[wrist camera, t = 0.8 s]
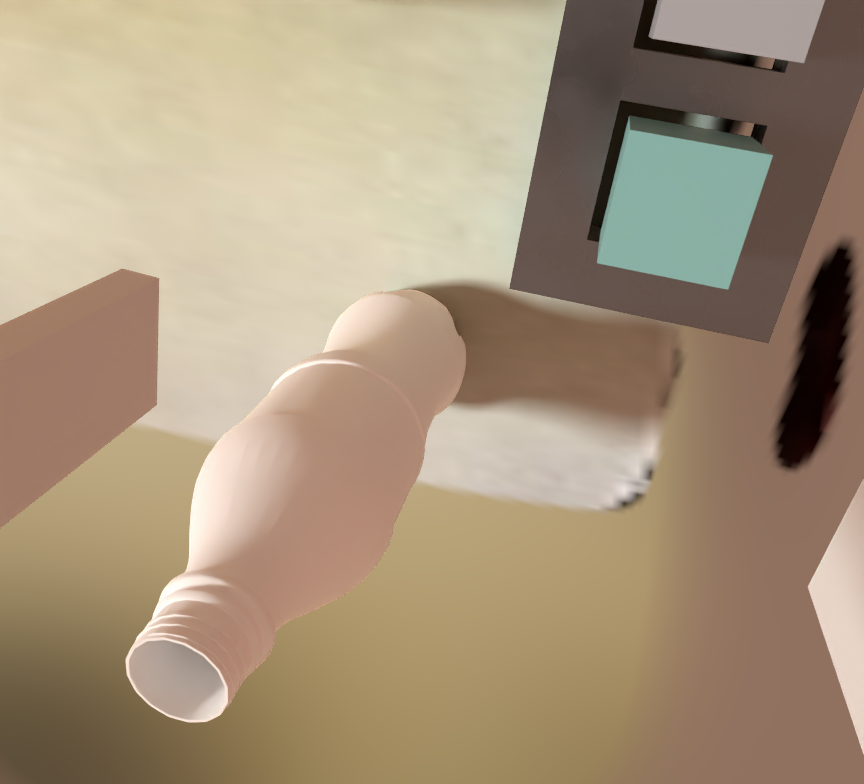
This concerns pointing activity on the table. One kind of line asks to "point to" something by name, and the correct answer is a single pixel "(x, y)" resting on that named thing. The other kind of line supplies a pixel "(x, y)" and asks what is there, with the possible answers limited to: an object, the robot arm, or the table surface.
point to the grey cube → (740, 25)
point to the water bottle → (299, 499)
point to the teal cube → (682, 201)
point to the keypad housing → (698, 93)
